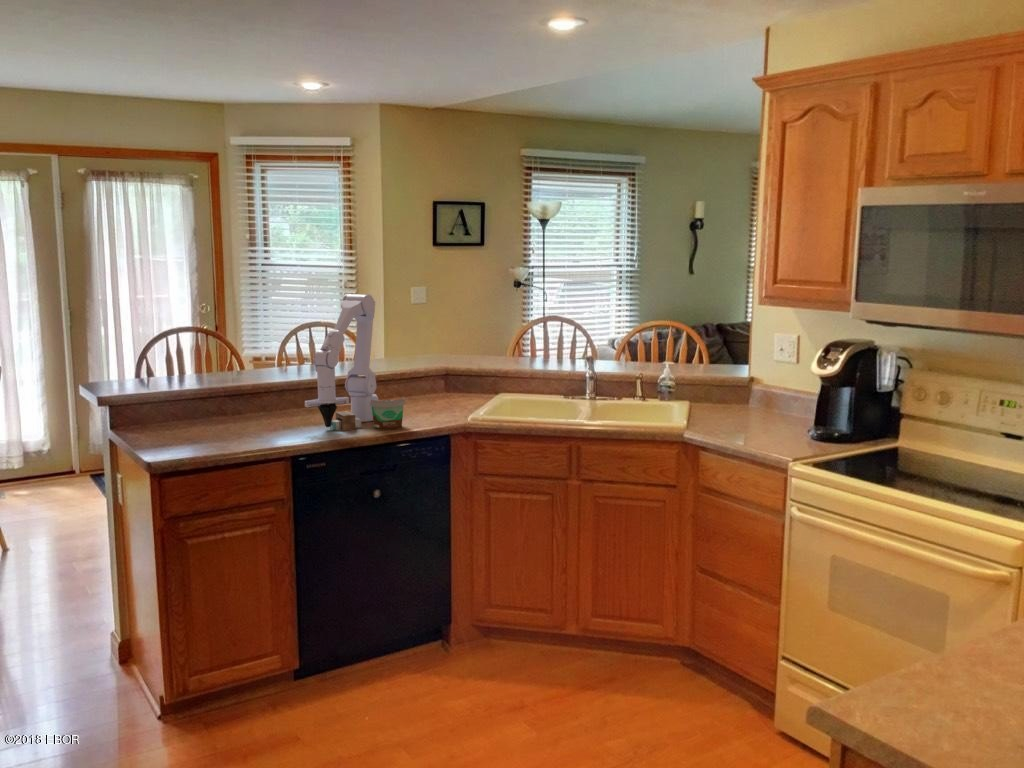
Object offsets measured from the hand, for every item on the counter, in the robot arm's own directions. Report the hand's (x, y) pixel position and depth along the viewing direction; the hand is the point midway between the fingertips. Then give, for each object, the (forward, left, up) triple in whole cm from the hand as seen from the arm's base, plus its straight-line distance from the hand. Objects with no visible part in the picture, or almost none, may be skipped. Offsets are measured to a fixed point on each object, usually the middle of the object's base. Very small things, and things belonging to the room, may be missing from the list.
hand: (327, 426), depth 288 cm
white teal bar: (-6, 0, -1) cm, 6 cm away
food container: (-19, +9, -1) cm, 21 cm away
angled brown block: (-6, 0, -1) cm, 6 cm away
